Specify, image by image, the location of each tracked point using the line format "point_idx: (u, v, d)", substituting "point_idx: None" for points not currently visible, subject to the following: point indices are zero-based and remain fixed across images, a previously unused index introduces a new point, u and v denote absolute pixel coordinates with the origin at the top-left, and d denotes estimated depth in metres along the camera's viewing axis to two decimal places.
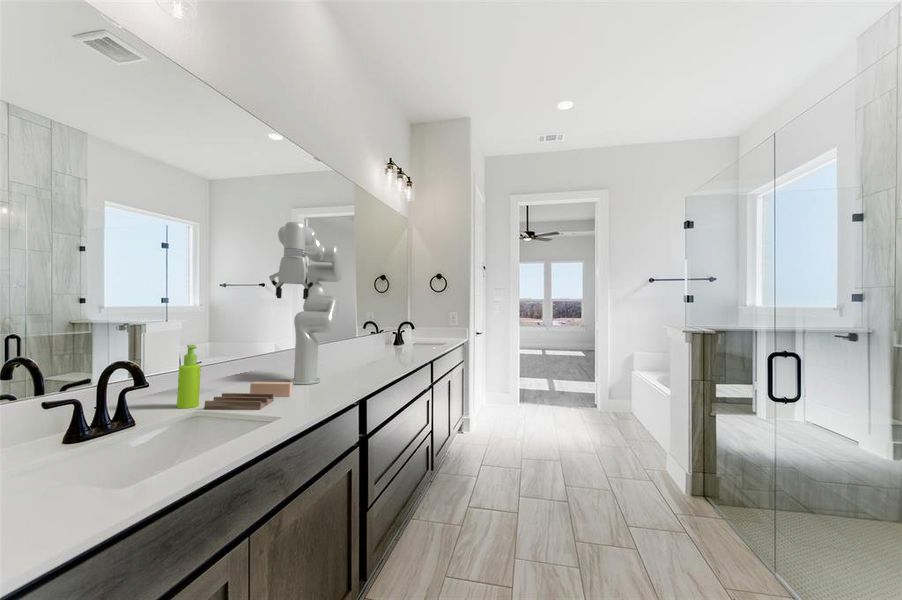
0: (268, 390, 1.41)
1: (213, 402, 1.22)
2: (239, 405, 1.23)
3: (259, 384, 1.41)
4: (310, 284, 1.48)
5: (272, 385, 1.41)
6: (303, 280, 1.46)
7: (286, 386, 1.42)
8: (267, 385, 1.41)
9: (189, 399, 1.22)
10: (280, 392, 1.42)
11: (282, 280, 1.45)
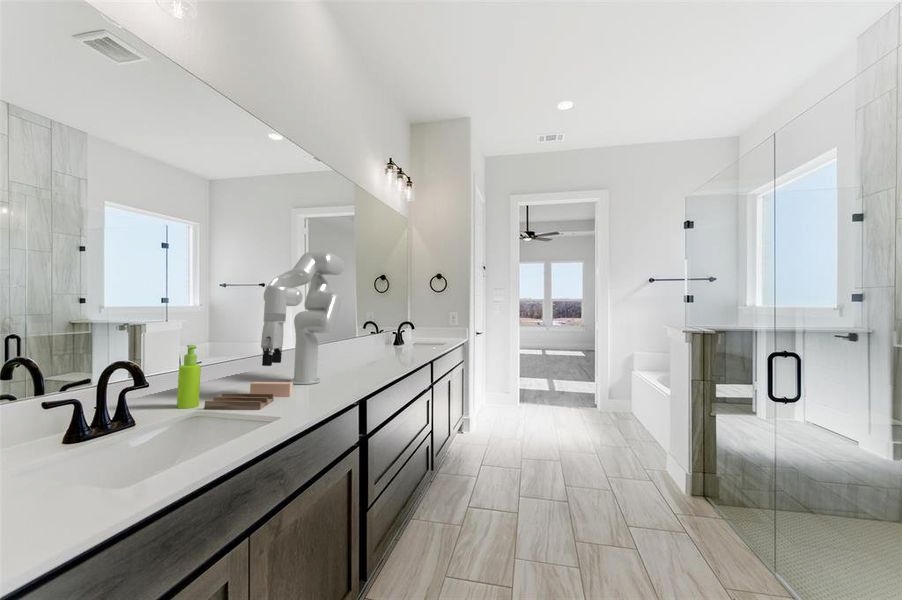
0: (268, 390, 1.41)
1: (213, 402, 1.22)
2: (239, 405, 1.23)
3: (259, 384, 1.41)
4: (281, 347, 1.50)
5: (272, 385, 1.41)
6: (282, 344, 1.47)
7: (286, 386, 1.42)
8: (267, 385, 1.41)
9: (189, 399, 1.22)
10: (280, 392, 1.42)
11: (275, 346, 1.40)
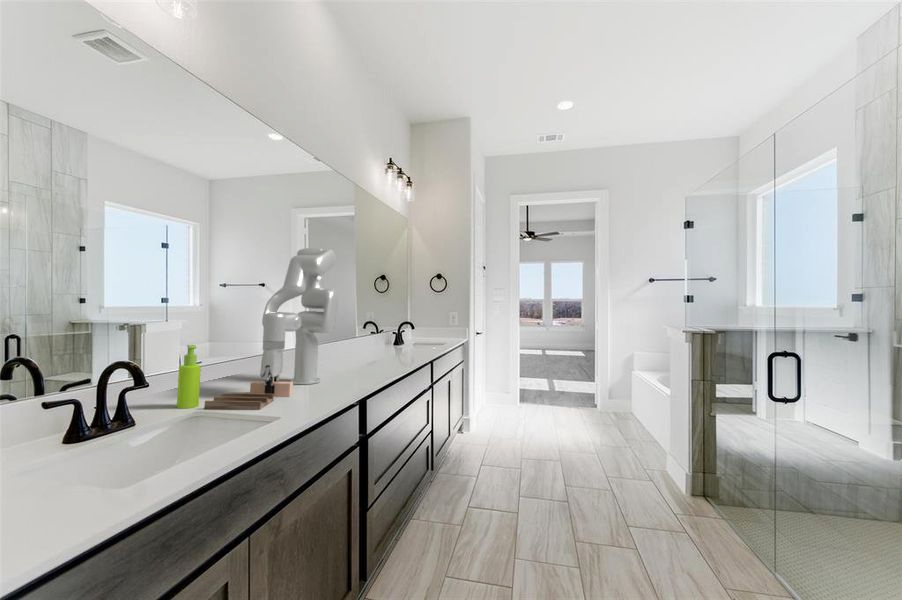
0: None
1: (213, 402, 1.22)
2: (239, 405, 1.23)
3: (259, 384, 1.41)
4: None
5: None
6: (281, 370, 1.48)
7: (286, 386, 1.42)
8: None
9: (189, 399, 1.22)
10: (280, 392, 1.42)
11: (275, 375, 1.40)
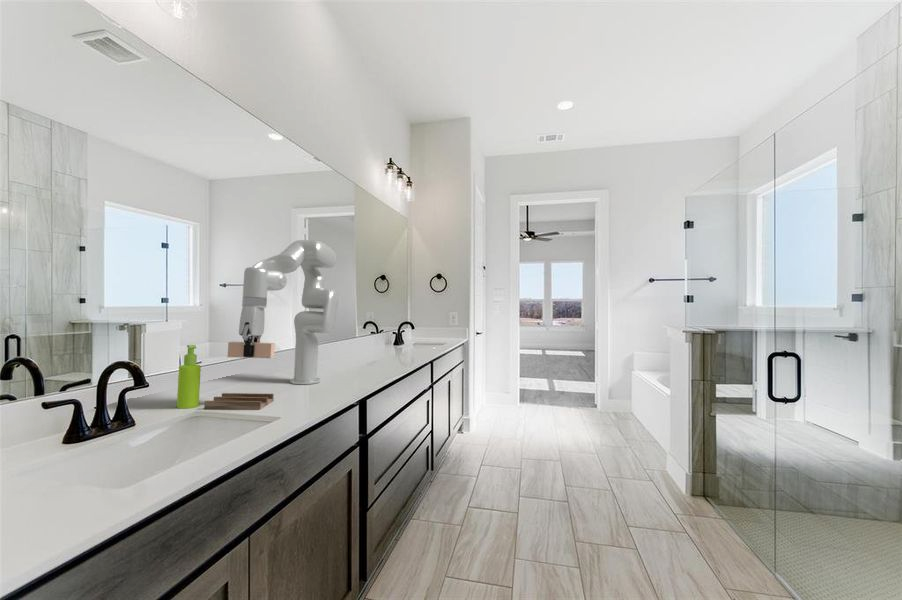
0: None
1: (213, 402, 1.22)
2: (239, 405, 1.23)
3: (238, 343, 1.30)
4: None
5: None
6: (263, 331, 1.36)
7: (267, 346, 1.31)
8: None
9: (189, 399, 1.22)
10: (261, 353, 1.30)
11: (255, 333, 1.29)
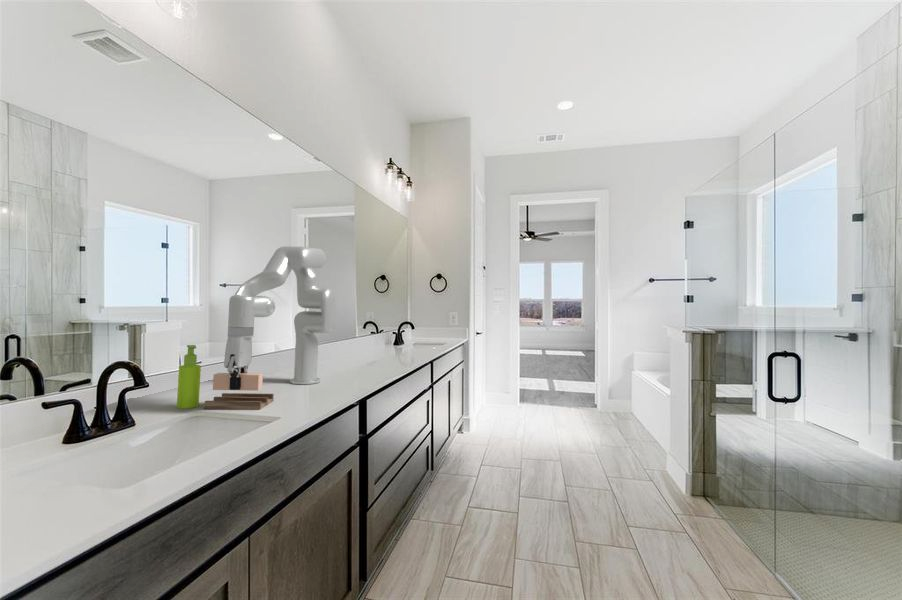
0: None
1: (213, 402, 1.22)
2: (239, 405, 1.23)
3: (223, 375, 1.24)
4: (246, 368, 1.30)
5: None
6: (250, 361, 1.31)
7: (254, 377, 1.25)
8: None
9: (189, 399, 1.22)
10: (248, 385, 1.25)
11: (241, 365, 1.23)
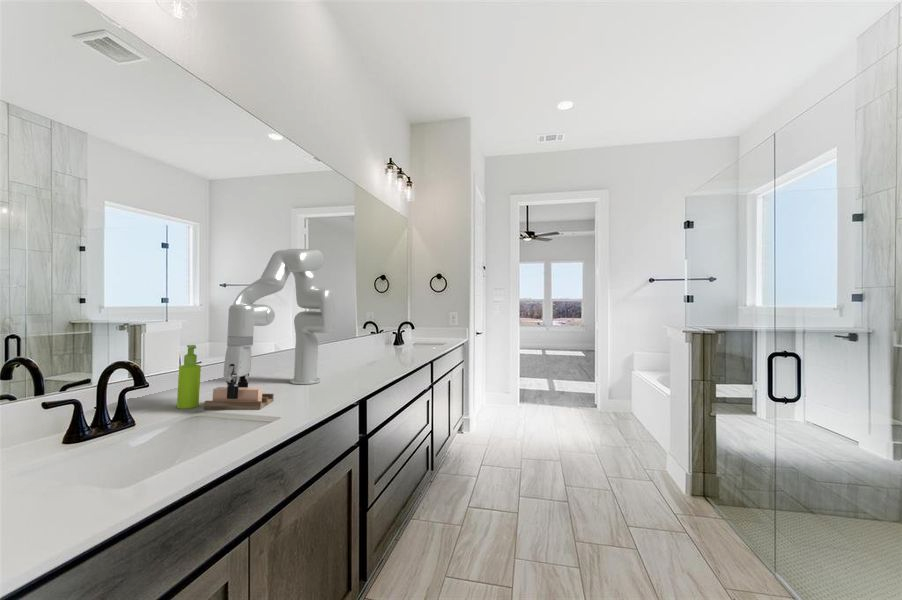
0: None
1: (213, 402, 1.22)
2: (239, 405, 1.23)
3: (223, 390, 1.24)
4: (248, 375, 1.31)
5: (238, 391, 1.24)
6: (250, 370, 1.31)
7: (253, 392, 1.25)
8: None
9: (189, 399, 1.22)
10: (247, 399, 1.25)
11: (240, 374, 1.23)
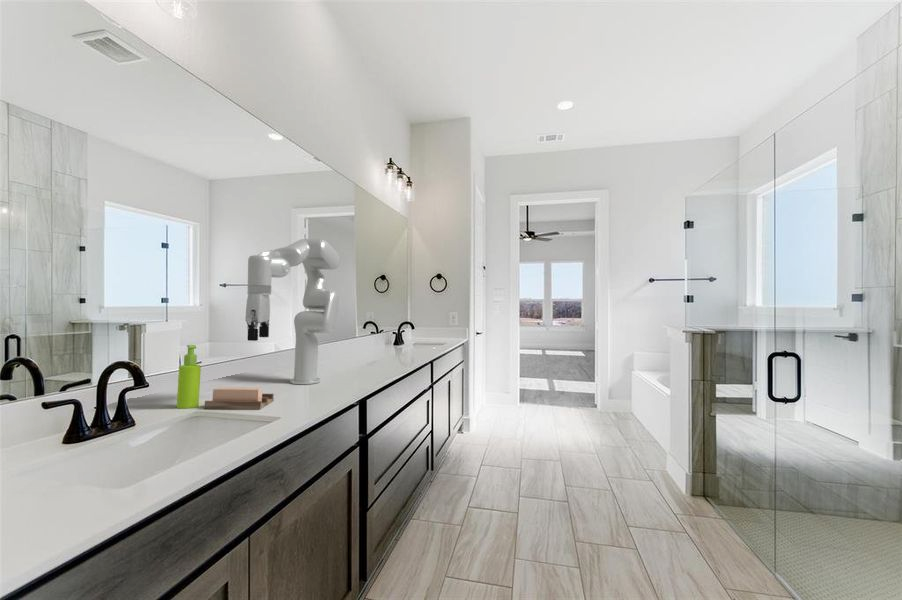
0: (233, 397, 1.24)
1: (213, 402, 1.22)
2: (239, 405, 1.23)
3: (223, 390, 1.24)
4: (268, 321, 1.42)
5: (238, 391, 1.24)
6: None
7: (253, 392, 1.25)
8: (232, 391, 1.24)
9: (189, 399, 1.22)
10: (247, 399, 1.25)
11: (261, 320, 1.32)
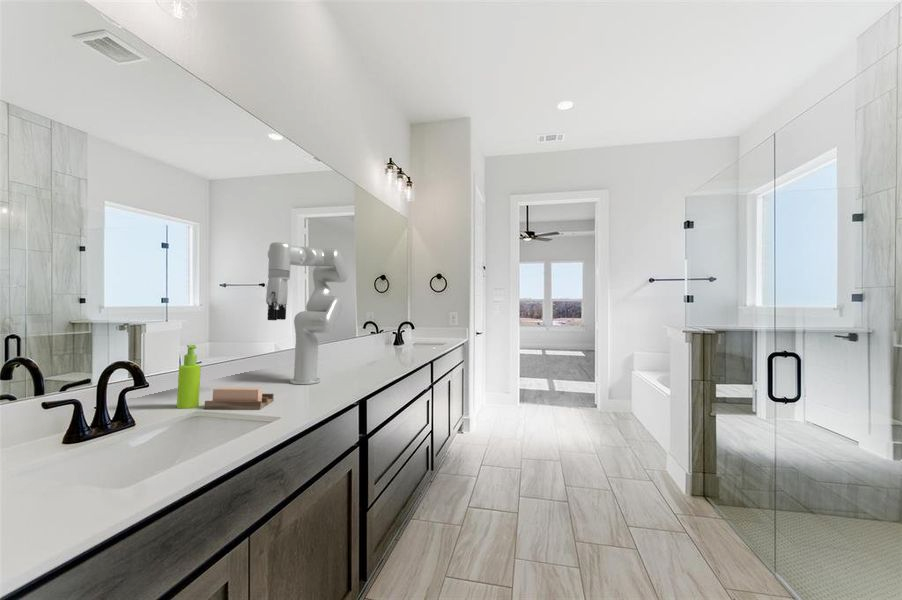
0: (233, 397, 1.24)
1: (213, 402, 1.22)
2: (239, 405, 1.23)
3: (223, 390, 1.24)
4: None
5: (238, 391, 1.24)
6: (286, 301, 1.50)
7: (253, 392, 1.25)
8: (232, 391, 1.24)
9: (189, 399, 1.22)
10: (247, 399, 1.25)
11: (280, 302, 1.43)
